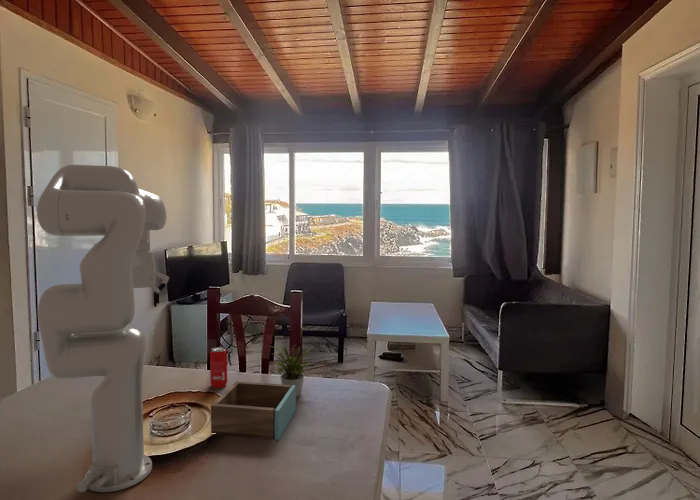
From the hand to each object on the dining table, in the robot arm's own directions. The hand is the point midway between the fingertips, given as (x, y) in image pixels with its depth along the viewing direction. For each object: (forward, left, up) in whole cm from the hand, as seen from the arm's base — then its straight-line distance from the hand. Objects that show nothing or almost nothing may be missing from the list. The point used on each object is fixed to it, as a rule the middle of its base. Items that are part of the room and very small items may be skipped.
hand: (136, 307), depth 124 cm
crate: (-6, -37, -29) cm, 47 cm away
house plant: (+13, -41, -29) cm, 51 cm away
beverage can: (+17, -17, -29) cm, 37 cm away
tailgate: (-6, -46, -28) cm, 54 cm away
